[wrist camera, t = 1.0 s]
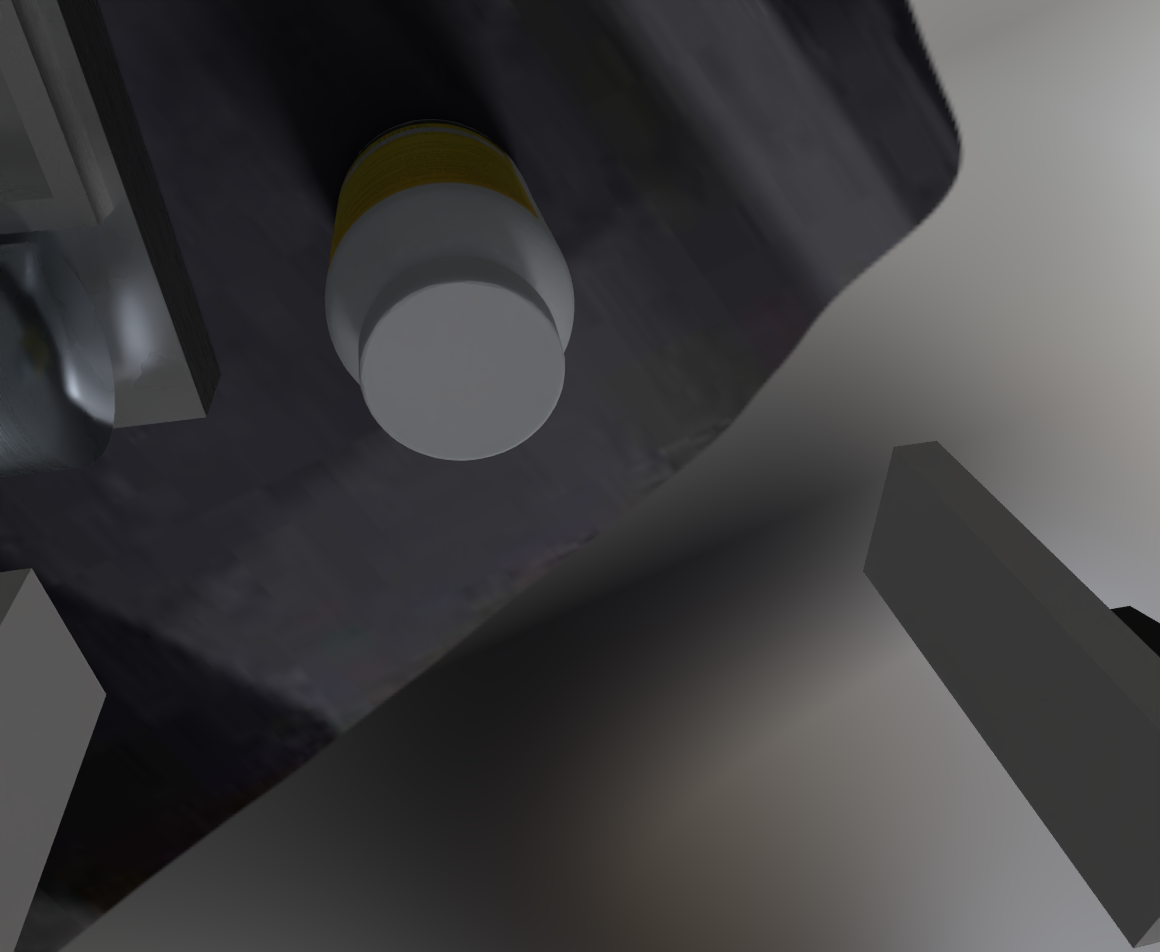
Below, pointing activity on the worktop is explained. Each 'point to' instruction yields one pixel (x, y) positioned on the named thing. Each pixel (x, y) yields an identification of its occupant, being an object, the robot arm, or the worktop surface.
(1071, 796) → the robot arm
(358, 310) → the pill bottle
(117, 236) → the motor base
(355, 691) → the worktop surface
